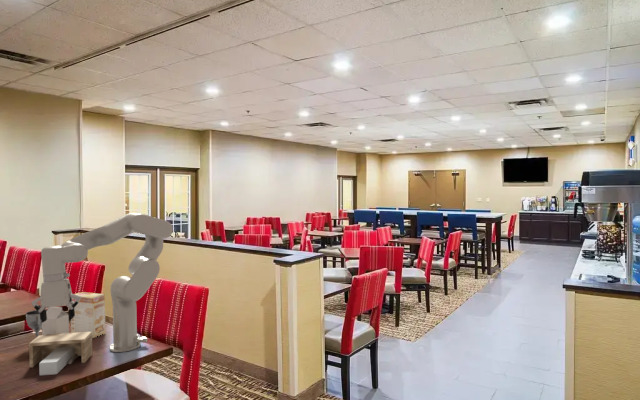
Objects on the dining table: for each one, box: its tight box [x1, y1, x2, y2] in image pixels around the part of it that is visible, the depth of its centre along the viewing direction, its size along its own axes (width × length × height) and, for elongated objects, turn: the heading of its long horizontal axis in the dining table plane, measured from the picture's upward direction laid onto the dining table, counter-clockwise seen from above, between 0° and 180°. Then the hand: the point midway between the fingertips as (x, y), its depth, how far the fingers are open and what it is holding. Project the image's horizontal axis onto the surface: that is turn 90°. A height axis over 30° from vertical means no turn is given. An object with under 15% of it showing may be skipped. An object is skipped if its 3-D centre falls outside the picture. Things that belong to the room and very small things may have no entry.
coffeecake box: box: [70, 291, 106, 339], centre depth 201 cm, size 15×7×20 cm, turn 69°
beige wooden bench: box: [28, 332, 93, 368], centre depth 171 cm, size 20×9×10 cm, turn 102°
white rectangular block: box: [38, 346, 74, 376], centre depth 166 cm, size 6×16×5 cm, turn 10°
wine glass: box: [25, 309, 48, 348], centre depth 188 cm, size 8×8×15 cm
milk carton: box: [41, 306, 70, 335], centre depth 182 cm, size 7×7×19 cm
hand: (58, 319), depth 165 cm, fingers open, 9 cm apart
